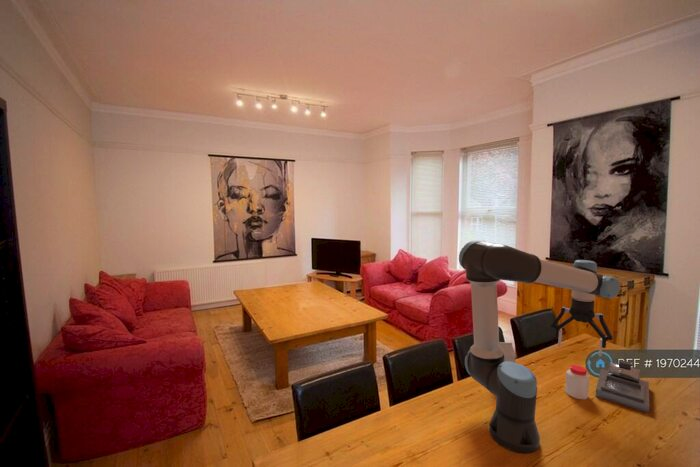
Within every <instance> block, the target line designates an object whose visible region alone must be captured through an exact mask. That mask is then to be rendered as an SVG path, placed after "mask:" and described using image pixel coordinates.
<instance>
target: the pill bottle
mask: <svg viewBox="0 0 700 467" xmlns="http://www.w3.org/2000/svg"><path fill="white" fill-rule="evenodd" d="M587 372H588V370H587V369H586V368H585V367H583V366H581V365H578V364H572V365H570V368H569V369H567V370H566V373H565V375H566V376H565V388H564V389H565V390H564V392H565V394H567V395H568V396H570V397H572V398H574V399H577V400H587V399H588V398H589V392H590V391H589V390H590V388H589V387H590V375H589V374H588V373H587Z"/></svg>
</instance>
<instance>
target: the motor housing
mask: <svg viewBox="0 0 700 467" xmlns="http://www.w3.org/2000/svg"><path fill="white" fill-rule="evenodd" d="M649 384H650V383H649V381H647V380H644V379H641V370H640V369H636V368H633V367H632V362H630V361H627V360H622V359H619V360H618V364H617V363H613V362H609V367H608V370H607V369H603V368H601V369H600V370H599V376H598V380H597V384H596V387H595V397H597V398H599V399H603V400H606V401H609V402H612V403H615V402H616V404H618V403H619V405H621V404H622V406H625V407H628V408H630V409H634V410H638V411H640V412H643V413H646V412H647V413H646V414H650V413H649V412H650V385H649Z"/></svg>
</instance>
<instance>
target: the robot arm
mask: <svg viewBox="0 0 700 467" xmlns="http://www.w3.org/2000/svg"><path fill="white" fill-rule="evenodd" d="M458 261H459V262H458V263H459V265H460V266H461V267H462V268H463V270H465V277H466V278H465V280H466V281H467V282H469V283H470V289H471V290H470V291H471V292H470V293H471V309H472V312H471V313H472V325H473V327H472V330H473V331H472V332H473V344H472V345H471V346H470V347H469V350H468V351H467V354H466V355H465V357H464V367H465V370H466V372H467V373H468V375H469V376H470V377H471V378H472V379H473V380H475V381H476V382H477V383H479V384H480V385H481V386H482V387H483V388H485V389H487V391H489V392H490V393H491V394H492V395H494V396H495V410H494V411H493V414H492V416H491V418H490V420H489V426H488V431H489V435H490V437H491V438H492V439H493V440H494V441H495V442H496V443H497V444H498V445H500V446H501V447H502V448H503V447H504V448H506V449H507V450H509V451H512V452H515V453H520V454H529V453H534V452H536V451H537V450H539V448H540V443H541V442H540V441H541V440H540V439H541V437H540V433H539V430H538V426H537V423H536V418H535V417H536V409H537V408H536V407H537V398H538V397H537V394H538V385H537V383H538V382H537V381H538V380H537V377H536V374H535V373H534V372H533V371H532V370H531V369H529V368H528V367H527V366H525V365H523V364H522V363H517V362H516V361H515V362H510V361H506V362H505V360H504V350H503V349H502V348H501V347H500V346H499V342H500V333H499V332H500V331H499V329H500V328H499V311H498V309H499V304H498V285H497V284H498V283H499V282H500V281H509V282H517V283H522V284H523V283H524V284H533V283H538V284H539V283H540V284H543V285H547V286H548V285H549V286H552V287H555V288H562V289H567V290H571V297H572V298H571V300H570V301H571V302H570V308H569V307H566V306H562V308H561V309H560V312H559V314H558V315H557V317H556V318H554V321H553V322H552V323H551V325H550V327H551V328H553V329H555V337H556V338H558V339H557V340H558V342H557V346H558V347H561V346H562V339H563V338H562V337H563V329H562V328H564V327H565V326H566V325H567V324H569V323H570V322H573V321H575V322H581V323H585V324H586V323H588V324H589V325H590V326H591V328H592V329H593V330H594V331H595V332H596V333H597V335H598V336H599V337H600V339H599V345H598V346H599V348H598V357H602V354H603V349H606V348H607V341H612V340H613V338H614V337H613V335H612V332H611V330H610V329H609V327H608V325H607V323H606V321H605V318H604V317H605V316H604V313H595V299H596V296H598V297H600V298H606V299H614V298H615V297H617V296H618V295H619V294H620V290H621V283H620V280H619V279H618V278H617V277H614V276H610V275H606V274H602V273H598V263H597V262H595V261H593V260H587V259H576V260H575V261H574V262H573V265H572V266H569V265H564V264H560V263H558V262H557V263H556V262H552V261H548V260H545V259H540V258H539V256H537V255H535V254H532V253H528V252H526V251H523V250H520V249H518V248H515V247H512V246H510V245H506V244H502V243H501V244H500V243H496V242H489V241H486V240H471V241H469V242H466V244H464V246H463V247H462V248H461V250H460V252H459V254H458ZM568 312H569V314H570V316H569V317H568V318H566V319H565V320H563V321H562V322H561V323H559V321H560V320H561V319H562V317H563V316H564V314H567V313H568ZM594 318H596V319H597V320H598V321H599V323H600V325H601V327H602V329H603V331H604V332H603V331H602V329H601V328H600V326H598V325H597V323H596V322H595V320H593V319H594ZM558 323H559V324H558Z"/></svg>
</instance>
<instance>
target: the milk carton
mask: <svg viewBox="0 0 700 467" xmlns="http://www.w3.org/2000/svg"><path fill="white" fill-rule="evenodd" d="M499 346H500V347H501V348H502V349H503V350H504V360H505V362H506V361H510V362H515V363H516V356H517V355H516V353H515V349H514V346H513V342H506V341H505V342H504V341H503V342H502V341H499Z"/></svg>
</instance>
